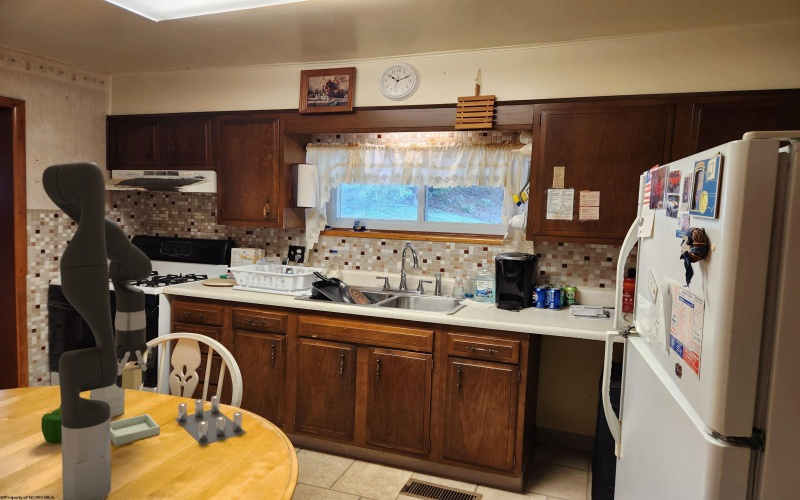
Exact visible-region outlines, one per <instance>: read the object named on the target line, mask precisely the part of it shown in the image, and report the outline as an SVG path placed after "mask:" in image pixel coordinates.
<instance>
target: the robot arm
mask: <svg viewBox="0 0 800 500" xmlns="http://www.w3.org/2000/svg"><path fill="white" fill-rule="evenodd" d="M41 181H42V187H43V190H44V192H45V194H46V195H47V197H48V198H49V199H50V201H51V202H52V203H54V205H55V206H56V207H57V208H59V210H61V211H62V212H63V213H64V214H65V215H66V216H67V217H69V218H70V219H71V220H72V221H73V222H74V223H75V224H76V225H77V228H76V230H75V231H74V232H75V233H74V234H73V236H72V238H71V239H70V241H69V242H68V244H67V245H66V246H65V249H64V251H63V253H62V255H61V257H60V259H59V260H60V261H59V269H60V270H59V271H60V272H59V273H60V287H61V292H62V294H63V296H64V297H65V299H66V300H67V302H68V303H69V304H70V306H72V307H73V308H74V309H75V310H76V312H77V313H78V314H79V315H80V316H81V317H82V318H83V319H84V321H85V322H86V324H87V325H88V326H89V328H90V330H91V332H92V334H93V336H94V339H95V344H96V346H95V347H89V348H88V347H87V348H82V349H74V350H70V351H65V352H63V353H62V354H61V356H60V358H59V359H58V360H59V361H58V367H57V369H58V381H59V382H58V383H59V389H60V390H59V391H60V393H59V394H60V405H61V420H62V443H61V456H62V457H61V470H62V471H61V473H62V475H61V476H62V478H61V479H62V500H104V499H107V498H108V497H109V496H108V495H109V494H110V492H111V491H112V490H111V489H112V466H111V465H112V464H111V463H112V461H111V457H112V456H111V454H112V453H111V451H112V450H111V442H112V441H111V439H110V422H111V418H110V406H109V404H108V403H106V402H104V401H100V400H91V399H90V398H86V397H82V396H81V393H85V392H90V390H95V389H100V388H105V387H109V386H112V385H114V384H115V385H116V386H118V388H122V375H121V373H122V371H123V368H124V367H125V366H126V365H127V364H128V363H131V362H133V363H134V362H137V364H138V365H137V366H140V367H141V368H142V385H143V384H144V383H145V382H146V380H147V370H148V369H152V368H153V367H154V364H155V361H156V358H157V357H156V356H157V352H158V350H159V349H158V347H157V346H156V345H154V344H152V345H147V341H146V340H147V339H146V338H147V337H146V336H147V333H146V332H147V320H146V319H147V316H146V308H145V307H146V294H145V291H144V290H143V289H141V288H138V287H135V286H133V285H132V283H131V281H134V282H135V281H137V282H141V281H145V280H147V279H148V278H149V277H150V276H151V275H152V272H153V265H152V264H153V263H152V261H151V259H150V258H149V257H148V256H147V254H146V253H145V252H143V251H142V250H141V249H140V248H139V247H138V246H136V245H135V244H134V243H132V241H130V239H129V237H128V236H127V234H126V233H125V231H124V229H123V228H122V227H121V226H120V225H119V224H118V223H117V222H116V221H114V220H112V219H111V218H109V217H108V216H106V182H105V181H106V180H105V176H104V174H103V171H102V169H101V167H100V166H99V164H97V163H96V162H94V161H79V162H68V163H59V164H52V165H49V166H48V167H46V168H45V169H44V171H43V173H42V177H41ZM108 261H109V262H108ZM110 280H111V283H112V287H113V290H114V294H115V297H116V299H115V300H116V301H115V302H116V303H115V306H116V309H115V310H116V311H115V312H116V313H115V318H114V319H115V320H114V327H115V328H113V321H112V311H111V295H110V293H111V291H110ZM113 329H115V331H114V330H113ZM114 332H115V333H114ZM114 334H115V335H114ZM146 351H147V353H148V355H147V359H146V362H145V360H144V358H143V356H144V354H145V353H146Z"/></svg>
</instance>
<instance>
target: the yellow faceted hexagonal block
mask: <svg viewBox="0 0 800 500" xmlns="http://www.w3.org/2000/svg"><path fill="white" fill-rule="evenodd" d="M125 366H126V365H125ZM121 375H122V389H125V390H133V389H136V388H139V387H141V386H143V384H142V368H141V367H140V366H139V365H127V366H126V367H124V368H123V371H122V373H121Z"/></svg>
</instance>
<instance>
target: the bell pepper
mask: <svg viewBox="0 0 800 500" xmlns="http://www.w3.org/2000/svg"><path fill="white" fill-rule="evenodd" d="M40 422H41V424H40V425H41V432H42V435H43V438H44V440H45V442H46V443H47V444H50V445H56V444H62V420H61V404H60V405H59V407H58V408H56V409H55V410H53V411H51V412H49V413H45V414H43V415H42V417H41V421H40Z"/></svg>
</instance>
